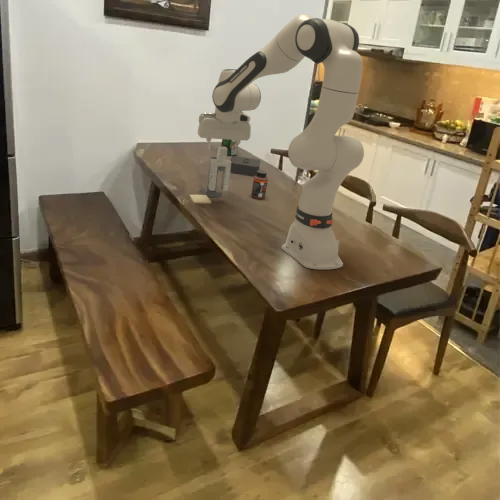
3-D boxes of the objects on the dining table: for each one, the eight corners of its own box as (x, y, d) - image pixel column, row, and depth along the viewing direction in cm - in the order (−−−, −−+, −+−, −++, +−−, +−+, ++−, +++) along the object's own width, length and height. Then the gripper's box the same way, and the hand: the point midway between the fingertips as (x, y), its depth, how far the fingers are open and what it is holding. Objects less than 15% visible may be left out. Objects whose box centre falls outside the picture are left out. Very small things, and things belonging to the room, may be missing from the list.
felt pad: (211, 203, 194) (211, 201, 194) (193, 203, 192) (194, 201, 192) (206, 196, 201) (206, 194, 201) (189, 196, 198) (189, 194, 198)
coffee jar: (218, 151, 270) (221, 117, 262) (230, 151, 274) (234, 117, 266) (226, 156, 263) (230, 121, 255) (239, 156, 267) (243, 122, 259)
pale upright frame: (227, 190, 195) (232, 149, 188) (210, 190, 193) (214, 148, 186) (225, 188, 198) (230, 147, 191) (208, 188, 195) (212, 146, 188)
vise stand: (226, 203, 197) (231, 164, 190) (209, 202, 194) (213, 164, 188) (216, 190, 209) (220, 154, 203) (200, 190, 207) (204, 153, 200)
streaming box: (257, 177, 236) (259, 167, 234) (228, 173, 236) (229, 162, 234) (259, 169, 249) (260, 159, 247) (231, 165, 249) (232, 155, 247)
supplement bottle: (263, 200, 206) (267, 174, 201) (249, 197, 207) (253, 172, 202) (266, 196, 211) (270, 171, 206) (252, 193, 212) (256, 168, 207)
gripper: (201, 113, 176) (198, 151, 182) (254, 117, 183) (249, 153, 189) (197, 110, 182) (194, 146, 188) (249, 114, 189) (244, 149, 195)
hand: (222, 150), depth 189 cm, fingers open, 8 cm apart
